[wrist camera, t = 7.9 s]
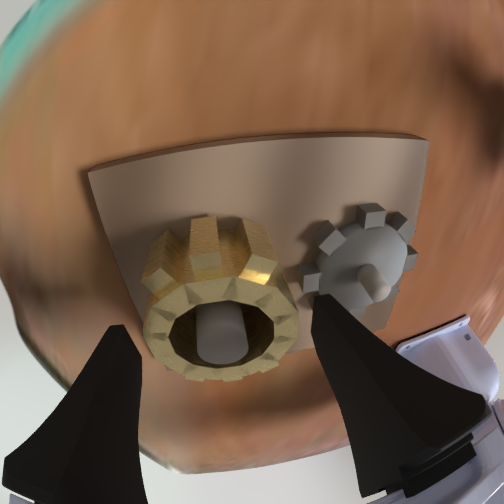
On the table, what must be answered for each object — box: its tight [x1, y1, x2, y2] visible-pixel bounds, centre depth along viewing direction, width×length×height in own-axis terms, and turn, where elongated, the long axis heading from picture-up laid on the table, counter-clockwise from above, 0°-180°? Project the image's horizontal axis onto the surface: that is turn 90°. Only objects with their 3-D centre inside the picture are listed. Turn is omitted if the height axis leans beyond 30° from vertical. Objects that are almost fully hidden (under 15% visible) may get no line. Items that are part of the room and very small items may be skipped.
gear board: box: [88, 132, 429, 370], centre depth 12 cm, size 14×12×4 cm
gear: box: [141, 216, 299, 382], centre depth 11 cm, size 6×7×3 cm
